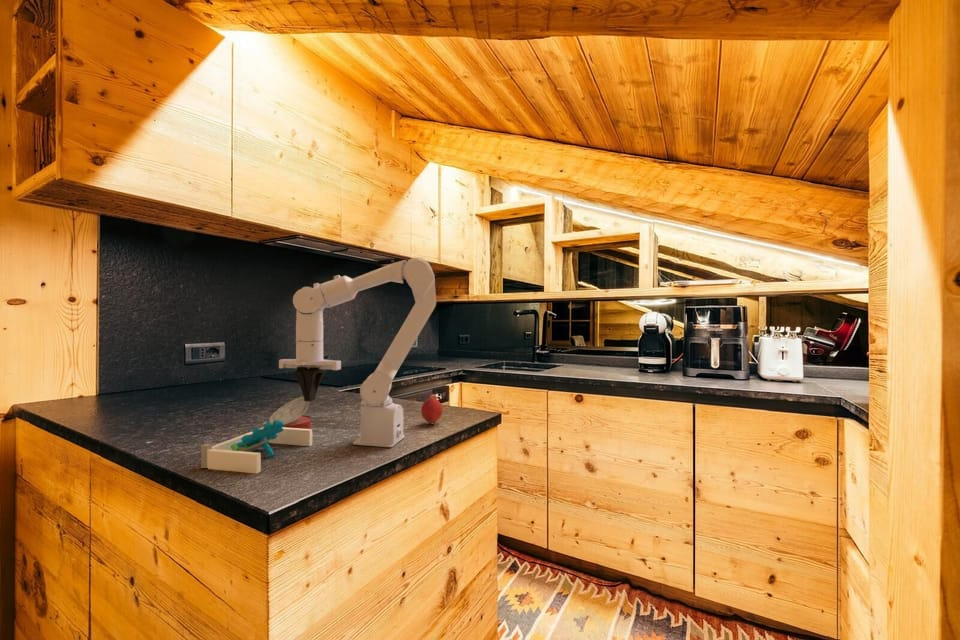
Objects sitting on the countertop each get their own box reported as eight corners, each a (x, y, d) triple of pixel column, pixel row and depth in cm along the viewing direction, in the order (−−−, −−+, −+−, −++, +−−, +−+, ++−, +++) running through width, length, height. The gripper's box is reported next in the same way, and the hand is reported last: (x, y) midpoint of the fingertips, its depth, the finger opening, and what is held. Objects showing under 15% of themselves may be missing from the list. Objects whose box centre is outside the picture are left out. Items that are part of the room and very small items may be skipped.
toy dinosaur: (272, 437, 91) (287, 411, 87) (286, 458, 90) (302, 432, 85) (221, 458, 82) (235, 430, 77) (235, 482, 80) (251, 455, 76)
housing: (312, 444, 91) (312, 425, 91) (256, 473, 74) (256, 450, 74) (266, 440, 94) (265, 422, 94) (201, 468, 77) (201, 445, 77)
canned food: (308, 451, 101) (311, 420, 97) (263, 451, 97) (264, 419, 93) (313, 420, 110) (316, 391, 106) (272, 419, 107) (273, 389, 103)
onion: (428, 428, 105) (428, 397, 105) (417, 423, 109) (417, 394, 109) (446, 424, 109) (447, 395, 109) (435, 420, 113) (435, 391, 113)
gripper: (269, 341, 89) (269, 402, 89) (328, 342, 86) (328, 405, 86) (290, 339, 96) (290, 396, 96) (345, 340, 93) (345, 399, 93)
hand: (309, 400), depth 92 cm, fingers closed
